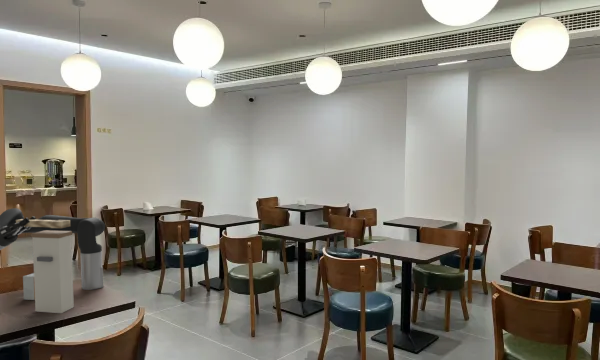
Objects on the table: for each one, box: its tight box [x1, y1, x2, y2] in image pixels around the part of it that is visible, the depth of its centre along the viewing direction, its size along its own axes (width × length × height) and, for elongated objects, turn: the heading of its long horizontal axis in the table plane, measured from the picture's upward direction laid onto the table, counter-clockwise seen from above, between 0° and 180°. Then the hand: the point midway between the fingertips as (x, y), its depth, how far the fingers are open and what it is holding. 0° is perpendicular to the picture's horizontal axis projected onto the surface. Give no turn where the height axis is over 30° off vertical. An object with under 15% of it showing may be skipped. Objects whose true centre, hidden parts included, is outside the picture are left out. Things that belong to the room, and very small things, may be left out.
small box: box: [22, 272, 35, 301], centre depth 192 cm, size 8×6×10 cm
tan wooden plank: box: [16, 218, 70, 228], centre depth 176 cm, size 22×5×2 cm, turn 79°
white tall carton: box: [30, 230, 75, 314], centre depth 176 cm, size 13×9×32 cm
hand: (31, 219), depth 177 cm, fingers closed on tan wooden plank, 3 cm apart
